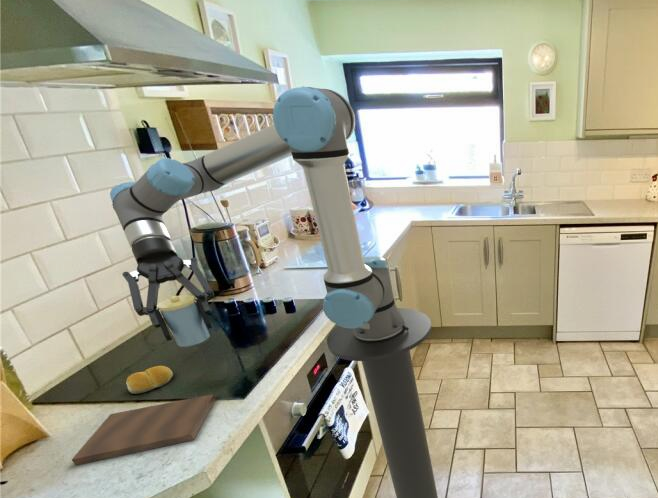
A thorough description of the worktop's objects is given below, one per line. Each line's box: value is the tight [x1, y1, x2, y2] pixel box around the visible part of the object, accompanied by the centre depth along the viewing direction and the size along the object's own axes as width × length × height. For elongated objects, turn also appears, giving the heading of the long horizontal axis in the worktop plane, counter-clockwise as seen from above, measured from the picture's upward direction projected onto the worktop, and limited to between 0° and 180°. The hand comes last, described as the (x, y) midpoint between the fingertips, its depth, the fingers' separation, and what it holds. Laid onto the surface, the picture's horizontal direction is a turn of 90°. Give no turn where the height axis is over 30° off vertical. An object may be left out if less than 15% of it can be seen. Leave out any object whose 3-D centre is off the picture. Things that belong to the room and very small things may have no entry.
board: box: [71, 393, 217, 466], centre depth 88 cm, size 20×14×2 cm
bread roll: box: [125, 365, 174, 395], centre depth 103 cm, size 8×9×4 cm
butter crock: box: [157, 294, 211, 348], centre depth 93 cm, size 7×7×11 cm
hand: (189, 331), depth 92 cm, fingers closed on butter crock, 7 cm apart
